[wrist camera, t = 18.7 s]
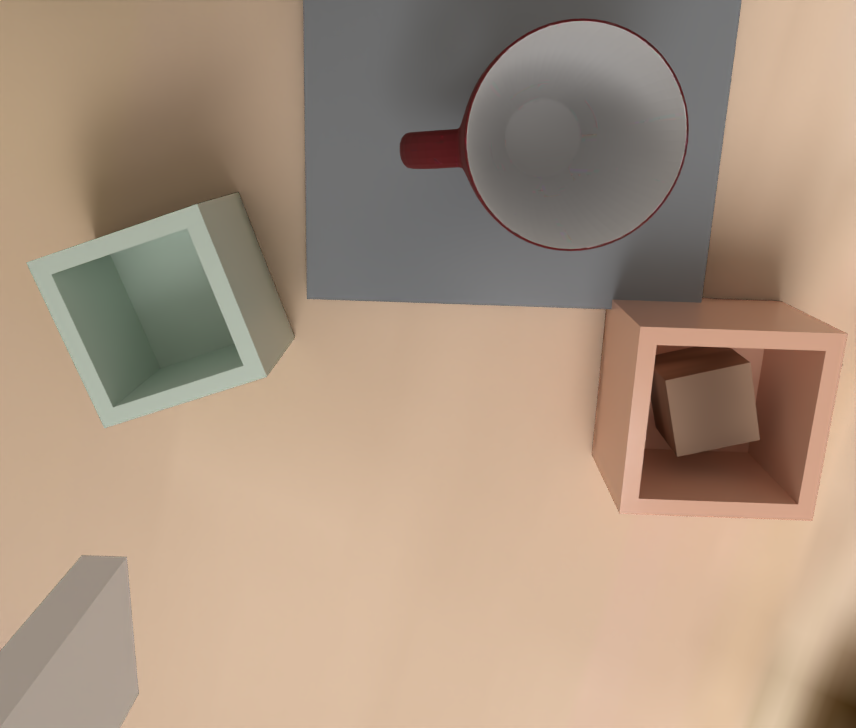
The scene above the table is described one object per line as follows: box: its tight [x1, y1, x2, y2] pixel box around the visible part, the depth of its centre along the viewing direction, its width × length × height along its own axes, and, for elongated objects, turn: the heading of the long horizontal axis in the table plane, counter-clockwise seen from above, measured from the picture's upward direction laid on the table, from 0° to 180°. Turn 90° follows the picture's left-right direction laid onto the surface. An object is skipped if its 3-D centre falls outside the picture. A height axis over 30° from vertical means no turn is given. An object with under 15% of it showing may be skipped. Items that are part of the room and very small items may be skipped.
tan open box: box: [592, 298, 848, 521], centre depth 39 cm, size 9×9×7 cm
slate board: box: [303, 0, 741, 309], centre depth 38 cm, size 20×16×1 cm
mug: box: [400, 18, 689, 251], centre depth 33 cm, size 11×8×10 cm
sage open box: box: [27, 192, 295, 428], centre depth 38 cm, size 8×8×7 cm
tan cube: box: [651, 346, 760, 457], centre depth 39 cm, size 4×4×4 cm
